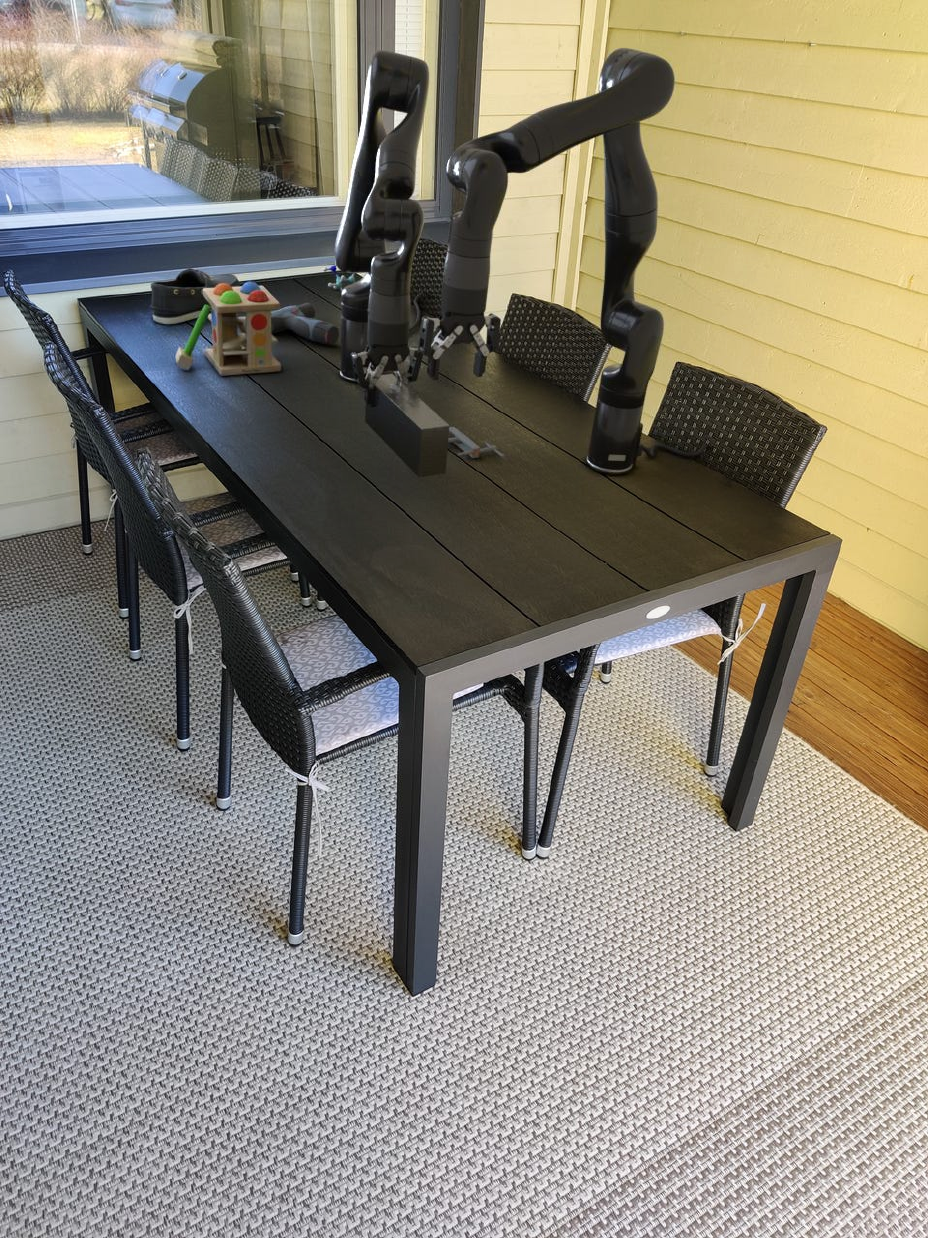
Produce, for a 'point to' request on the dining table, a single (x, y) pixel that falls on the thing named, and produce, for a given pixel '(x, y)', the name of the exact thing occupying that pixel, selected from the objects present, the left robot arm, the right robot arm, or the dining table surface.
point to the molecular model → (339, 278)
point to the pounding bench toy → (229, 347)
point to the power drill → (304, 324)
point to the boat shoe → (184, 295)
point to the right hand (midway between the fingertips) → (455, 376)
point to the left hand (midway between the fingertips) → (385, 403)
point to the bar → (409, 427)
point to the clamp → (469, 444)
